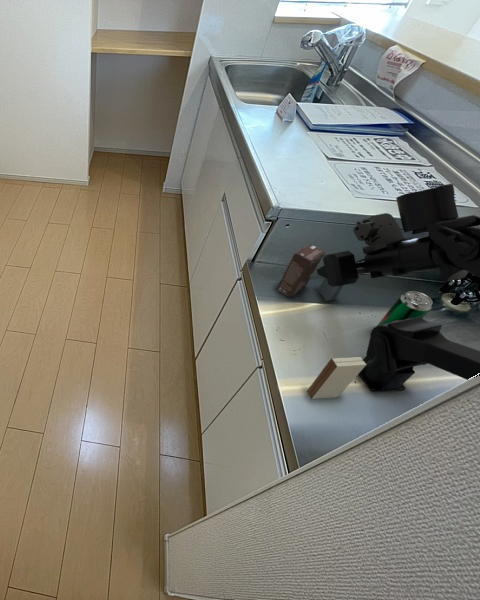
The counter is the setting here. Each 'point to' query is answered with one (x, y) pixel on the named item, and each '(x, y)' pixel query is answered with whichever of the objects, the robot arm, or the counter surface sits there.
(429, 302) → the soda can
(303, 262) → the box
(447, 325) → the counter surface
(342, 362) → the cream books
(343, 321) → the counter surface
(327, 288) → the grey books
